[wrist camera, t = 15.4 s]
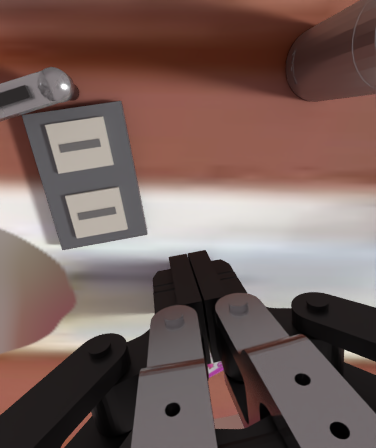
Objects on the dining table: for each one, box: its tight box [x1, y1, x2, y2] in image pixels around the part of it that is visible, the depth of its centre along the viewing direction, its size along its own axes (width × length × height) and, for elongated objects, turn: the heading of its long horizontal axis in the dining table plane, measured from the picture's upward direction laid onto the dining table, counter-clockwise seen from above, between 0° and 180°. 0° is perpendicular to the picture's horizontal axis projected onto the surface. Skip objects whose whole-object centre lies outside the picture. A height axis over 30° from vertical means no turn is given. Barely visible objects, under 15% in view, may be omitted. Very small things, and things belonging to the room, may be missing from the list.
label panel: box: [22, 101, 147, 250], centre depth 41 cm, size 12×18×3 cm, turn 8°
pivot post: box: [70, 85, 79, 101], centre depth 36 cm, size 2×2×6 cm
